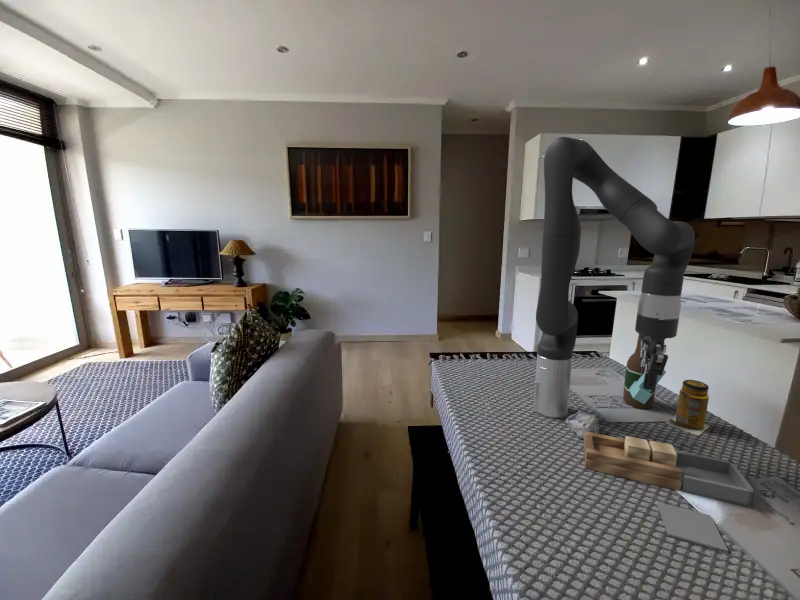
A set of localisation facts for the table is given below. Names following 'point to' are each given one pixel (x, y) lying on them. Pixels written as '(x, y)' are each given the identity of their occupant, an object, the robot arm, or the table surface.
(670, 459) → the tan block
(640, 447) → the tan wooden cube
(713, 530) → the mat
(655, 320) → the robot arm
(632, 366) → the beer bottle
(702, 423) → the condiment
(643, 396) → the teal t-shaped block
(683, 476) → the tray
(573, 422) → the mineral specimen
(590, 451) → the slot board
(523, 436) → the table surface
